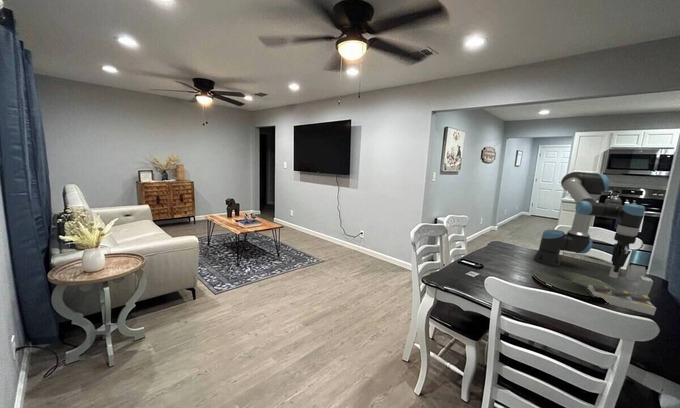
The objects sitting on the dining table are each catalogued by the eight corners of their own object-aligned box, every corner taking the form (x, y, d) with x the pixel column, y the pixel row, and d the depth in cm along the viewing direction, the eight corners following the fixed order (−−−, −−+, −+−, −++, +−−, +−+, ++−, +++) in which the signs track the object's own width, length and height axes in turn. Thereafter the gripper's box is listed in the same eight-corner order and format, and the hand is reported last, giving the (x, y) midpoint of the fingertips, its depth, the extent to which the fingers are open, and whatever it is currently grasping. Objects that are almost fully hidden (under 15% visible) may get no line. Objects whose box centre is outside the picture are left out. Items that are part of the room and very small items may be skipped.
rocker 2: (613, 294, 142) (614, 292, 142) (611, 291, 146) (611, 288, 145) (629, 296, 139) (630, 293, 139) (626, 293, 143) (626, 290, 142)
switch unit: (592, 299, 144) (595, 292, 143) (586, 291, 153) (588, 284, 153) (653, 315, 133) (656, 307, 132) (643, 305, 143) (645, 297, 142)
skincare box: (632, 294, 153) (639, 275, 151) (644, 298, 150) (651, 278, 148) (634, 299, 149) (641, 278, 146) (646, 302, 146) (653, 282, 143)
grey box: (642, 282, 170) (647, 268, 168) (628, 280, 173) (632, 265, 171) (638, 280, 174) (643, 266, 172) (624, 277, 176) (629, 263, 174)
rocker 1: (595, 290, 146) (595, 287, 145) (592, 287, 149) (593, 284, 149) (610, 292, 143) (610, 289, 143) (607, 289, 146) (607, 286, 146)
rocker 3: (633, 299, 139) (633, 296, 139) (630, 296, 142) (630, 293, 142) (650, 301, 136) (650, 298, 136) (646, 298, 139) (646, 295, 139)
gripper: (642, 239, 130) (628, 284, 135) (630, 232, 142) (617, 274, 146) (621, 235, 134) (608, 279, 139) (611, 229, 145) (599, 270, 150)
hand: (612, 277), depth 143 cm, fingers closed
